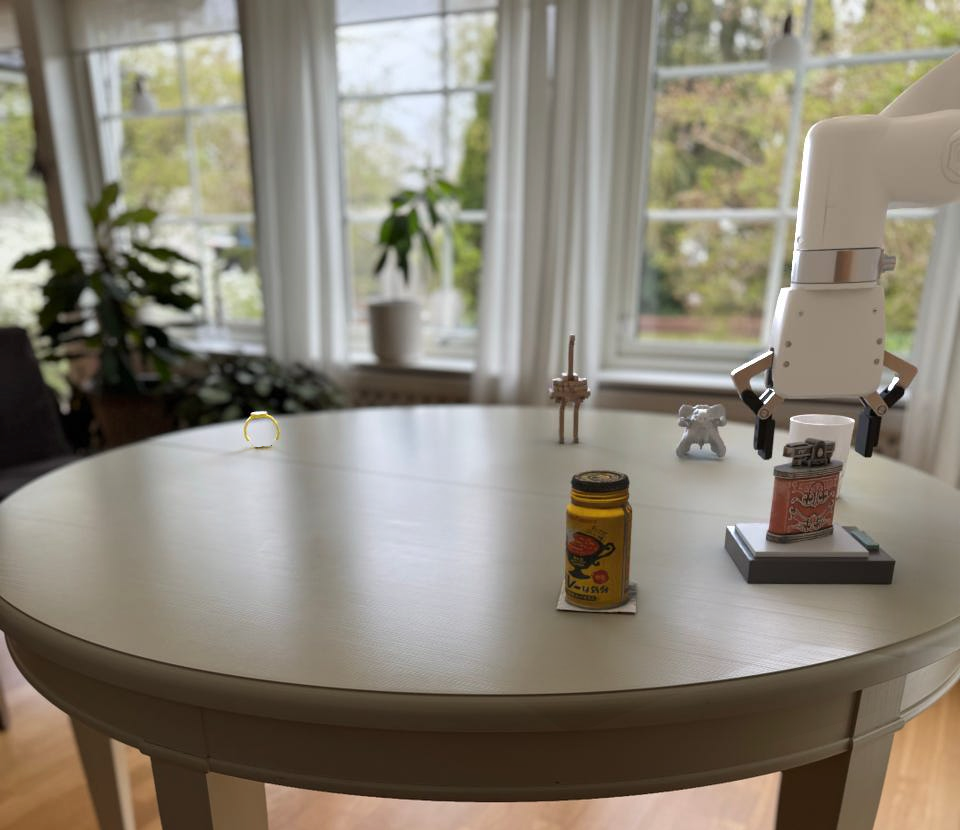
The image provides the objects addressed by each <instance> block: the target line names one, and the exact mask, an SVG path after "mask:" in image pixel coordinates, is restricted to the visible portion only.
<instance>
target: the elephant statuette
mask: <svg viewBox="0 0 960 830" xmlns="http://www.w3.org/2000/svg"><path fill="white" fill-rule="evenodd" d="M726 415H727V412H726V408H725V406H724V405H723V404H720V403H719V404H718V403H717V404H714V405H712V406H710V405H708V404H697V405H695V406H692V405H690V404H682V406H681V407H680V408H679V410H678V421H677V425H678V427H681V428H684V431H683V434H682V438H681V439H680V441H679V443H678V444H677V446H676V447H675V454H676V456H677V458H679V459H681V458H684V457H685V455H686V453H689V452H690V450H691V446H692V445H693V444H696V445H698V447H699V450H701V451H702V450H703V446H704V445H706V444H709V445H710V450H711V452H713V453H714V454H716V455H717V457H718V458H724V457H725V456H726V454H727V446H726V445H725V443H724V440H723V438H722V437H721V435H720V431H719V427H720V428H722V427H726V425H727V423H728V421H727V418H726Z"/></svg>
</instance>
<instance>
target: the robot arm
mask: <svg viewBox="0 0 960 830" xmlns="http://www.w3.org/2000/svg"><path fill="white" fill-rule="evenodd" d="M803 147H804V148H803V154H802V155H803V157H802V167H801V177H800V187H799V195H798V207H797V216H796V217H797V218H796V227H795V237H794V238H795V239H794V249H793V250H794V251H793V257H792V258H793V259H792V267H791V269H792V270H791V279H790V287H783V288H781V289H780V292H779V295H778V298H777V302H776V305H775V310H774V314H773V320H772V325H771V329H770V334H769V341H768V347H767V352H766V353H763V354H762V355H759V356H758V357H756V358H754V359H752V360H750V361H749V362H746V363H744V364H743V365H741V366H739V367H738V368H736V369H734V370H733V371H731V373H730V378H731V381H732V384H733V385H734V387H735V388H734V389H735V390H736V392H737V394H738V396H739V399H740V400H741V402H743V404H744V405H745V406H747V408H748V409H749V410H750V411H751V412H752V413H753V414H754V415H755V419H754V431H753V440H752V441H753V443H752V445H753V447H752V448H753V449H754V451H757V455H758V456H759V457H760V458H761V460H763V461H770V459H772V458H773V450H774V439H775V432H776V431H775V429H776V420H775V419H774V418H773V413H775V411H776V410H777V409H778V408H779V407H780V406H781V405H782V404H783V402H785V400H786V399H787V400H803V399H805V400H806V399H843V398H858V399H859V401H860V402H861V404H862V405H863V407H864V410H863V411H860V413H859V414H858V421H857V428H856V435H855V443H854V451H855V453H857V454H859V455H860V456H862V457H863V458H866V459H868V458H872V457H873V453H874V452H873V451H874V448H877V447H878V445H879V439H880V432H881V428H882V427H881V425H882V419H883V417H884V416H886V415H887V414H888V412H889V410H890V408H892V407H893V406H895V404H896V403H898V402H899V401H900V400H901V399H903V397H904V395H905V392H906V391H907V389H908V388H909V386H910V385H911V384H912V382H913V381H914V379H915V378H916V376H917V374H918V372H919V369H918V367H917V366H915V365H914V364H912V363H910V362H908V361H906V360H904V359H903V358H901V357H899V356H897V355H894V354H893V353H892V352H889V351H887V350H886V349H885V345H886V299H885V289H884V285H879V284H878V280H881V276H882V274H884V273H886V272H893V271H894V270H895V268H896V264H897V257H896V255H888V254H886V253H885V248H882V247H883V242H884V235H885V228H886V221H887V220H886V219H887V214H888V210H898V209H921V208H935V207H941V206H946V205H949V204H953V203H955V202H957V201H959V200H960V49H958V50H957V51H956V52H955V53H953V54H951V55H950V56H949V57H947V58H945V59H944V60H942V61H941V62H940V63H939V64H937V65H936V66H934V67H933V68H931V69H930V70H929V71H928V72H926V73H925V74H924V75H921V77H919V78H918V79H917V80H915V81H914V82H913V83H912V84H910V86H908V87H907V88H906V89H905V90H904V91H903V92H902V93H900V94H899V95H898V96H897V97H896V98H894V99H893V100H892V102H890V103H889V104H888V105H887V106H886V107H885V108H884V109H883V110H881V112H879V113H878V114H851V115H842V116H836V117H830V118H826V119H823V120H820V121H818V122H816V123H814V125H812V126H811V127H810V129H809V130H808V132H807V135H806V137H805V141H804V146H803ZM884 368H886V369H888V370H890V371H892V372H893V373H894V377H893V379H892V382H891V383H890V384H889V385H888V386H886V387H885V388H884V389H883V390H882V391H881V392H880V393H879V392H878V390H879V387H880V384H881V380H882V375H883V369H884ZM761 373H764V375H763V376H764V378H763V380H764V381H763V382H764V383H763V384H764V387H765V388H766V390H765V392H764V393H762V395H761V396H760V397H759V396H758V395H756V393H755V392H754V391H753V388H752V386H751V380H752V379H753V378H754V377H756V376H757V375H760V374H761Z"/></svg>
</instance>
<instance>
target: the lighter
mask: <svg viewBox="0 0 960 830" xmlns="http://www.w3.org/2000/svg"><path fill="white" fill-rule="evenodd" d="M835 443H836V442H835V441H830V440H825V441H823V440H819V439H814V438H808V439H806V440H805V442H796V443H789V442H788V443H786V444H785V445H784V446H783V450H782V457H783V458H787V459H788V458H793V459H792V463H788V462H787V463H783V464H779V465H775V466H773V473H772V476H774V481H773V490H772V498H771V506H770V514H769V515H770V516H769V522H768V523H769V530H767V532H766V541H768V542H771V543H775V544H792V543H800V542H807V541H813V540H817V539H822V538H825V537H828V536H831V535H833V529H834V525H833V524H832V523H833V522H834V516H835V515H834V514H835V509H836V502H837V498H836V495H837V489H838V482H839V475H840V471H842V468H843V462H841V461H837V460H830V459H831V457H832V455H833V452H834V450H835Z"/></svg>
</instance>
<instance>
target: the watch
mask: <svg viewBox="0 0 960 830" xmlns="http://www.w3.org/2000/svg"><path fill="white" fill-rule="evenodd" d="M262 418H266V419H269V420H270V421H272V423H273V424H274V425H275V429H276V436H275V438H274V440H278V441H279V438H280V432H281V431H280V428H279V423H278V421H277V420H276V419H275V418H274V417H273V416H272V415H270V414H268V412H267V411H254V412H251V413H250V416H249V417H248V418H247V419H246V421H245V423H244V426H243V433H244V434H243V435H244V438H245V440H246V441H247V442H248V441H250V440H251V439H250V437H249V436H248V432H247V428H248V425H249V423H250V422H251V421H252V420H253V419H262Z"/></svg>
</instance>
